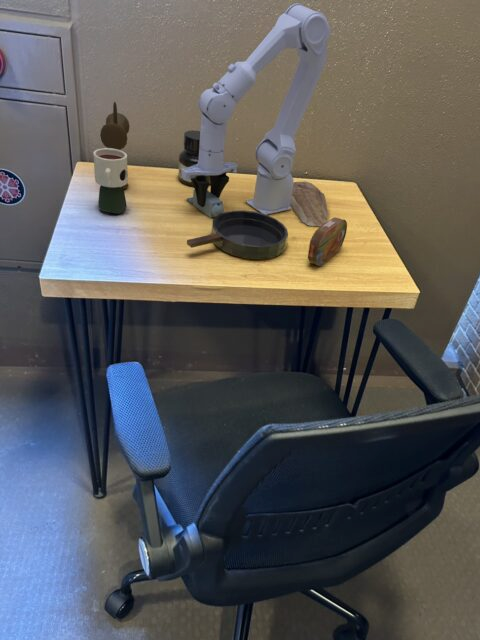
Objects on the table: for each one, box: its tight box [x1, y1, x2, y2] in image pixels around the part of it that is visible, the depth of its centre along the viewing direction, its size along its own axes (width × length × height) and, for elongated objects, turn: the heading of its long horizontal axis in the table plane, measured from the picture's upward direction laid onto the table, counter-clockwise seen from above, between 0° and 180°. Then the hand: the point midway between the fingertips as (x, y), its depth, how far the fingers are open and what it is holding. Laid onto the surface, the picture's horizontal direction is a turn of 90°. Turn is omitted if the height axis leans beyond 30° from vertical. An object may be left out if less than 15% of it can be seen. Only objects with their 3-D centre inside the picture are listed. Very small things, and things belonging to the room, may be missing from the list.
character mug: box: [92, 147, 129, 214], centre depth 118 cm, size 11×7×13 cm, turn 5°
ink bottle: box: [178, 130, 210, 187], centre depth 139 cm, size 10×9×12 cm
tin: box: [307, 216, 348, 267], centre depth 119 cm, size 15×3×8 cm, turn 148°
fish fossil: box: [290, 181, 328, 227], centre depth 142 cm, size 26×10×1 cm, turn 12°
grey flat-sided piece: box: [186, 189, 225, 219], centre depth 129 cm, size 12×4×4 cm, turn 39°
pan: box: [211, 209, 289, 260], centre depth 120 cm, size 17×17×4 cm
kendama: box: [99, 101, 130, 190], centre depth 126 cm, size 6×10×20 cm, turn 6°
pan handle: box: [186, 233, 222, 249], centre depth 113 cm, size 8×2×1 cm, turn 129°
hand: (207, 204), depth 129 cm, fingers closed on grey flat-sided piece, 3 cm apart
